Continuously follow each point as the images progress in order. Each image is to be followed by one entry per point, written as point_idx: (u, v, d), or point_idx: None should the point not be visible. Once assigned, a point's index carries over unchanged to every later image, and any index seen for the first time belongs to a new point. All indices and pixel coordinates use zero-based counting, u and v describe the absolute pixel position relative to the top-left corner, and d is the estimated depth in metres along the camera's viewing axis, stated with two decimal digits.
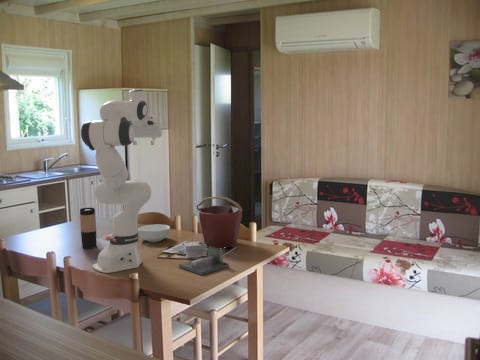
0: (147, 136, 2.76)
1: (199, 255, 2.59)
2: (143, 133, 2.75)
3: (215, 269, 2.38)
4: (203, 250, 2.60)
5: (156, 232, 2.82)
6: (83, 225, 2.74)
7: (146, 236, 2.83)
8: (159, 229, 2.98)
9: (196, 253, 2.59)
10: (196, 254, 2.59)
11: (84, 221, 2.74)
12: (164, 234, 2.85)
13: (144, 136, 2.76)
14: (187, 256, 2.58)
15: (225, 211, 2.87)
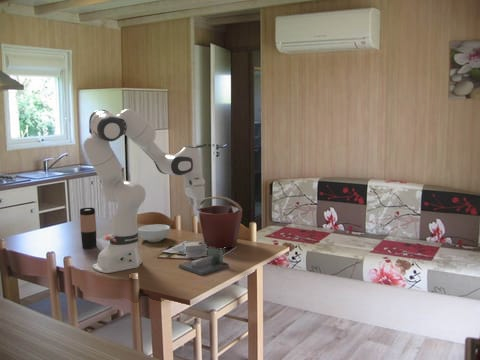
0: (192, 197, 2.60)
1: (199, 255, 2.59)
2: (191, 194, 2.61)
3: (215, 269, 2.38)
4: (203, 250, 2.60)
5: (156, 232, 2.82)
6: (83, 225, 2.74)
7: (146, 236, 2.83)
8: (159, 229, 2.98)
9: (196, 253, 2.59)
10: (196, 254, 2.59)
11: (84, 221, 2.74)
12: (164, 234, 2.85)
13: (191, 197, 2.61)
14: (187, 256, 2.58)
15: (225, 211, 2.87)
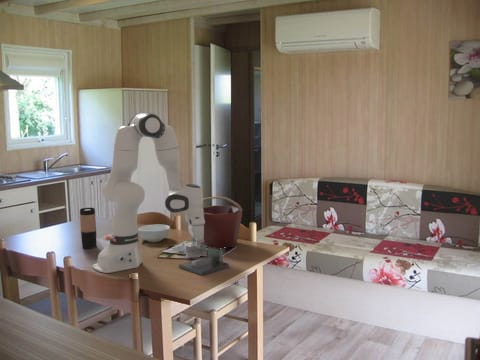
0: (193, 236, 2.58)
1: (199, 255, 2.60)
2: (192, 232, 2.60)
3: (215, 269, 2.38)
4: (203, 250, 2.60)
5: (156, 232, 2.82)
6: (83, 225, 2.74)
7: (146, 236, 2.83)
8: (159, 229, 2.98)
9: (196, 253, 2.59)
10: (196, 254, 2.59)
11: (84, 221, 2.74)
12: (164, 234, 2.85)
13: (192, 235, 2.60)
14: (187, 256, 2.58)
15: (225, 211, 2.87)
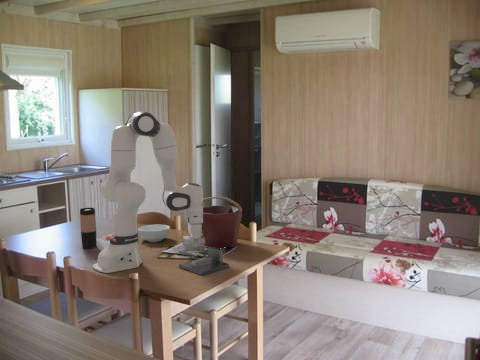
0: (191, 235, 2.56)
1: (197, 249, 2.58)
2: (190, 231, 2.58)
3: (215, 269, 2.38)
4: (202, 244, 2.58)
5: (156, 232, 2.82)
6: (83, 225, 2.74)
7: (146, 236, 2.83)
8: (159, 229, 2.98)
9: None
10: (194, 247, 2.57)
11: (84, 221, 2.74)
12: (164, 234, 2.85)
13: (190, 234, 2.58)
14: (185, 249, 2.57)
15: (225, 211, 2.87)
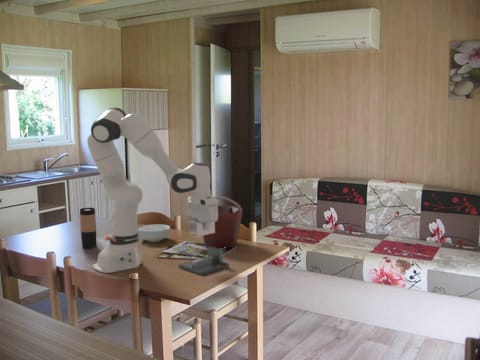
0: (202, 218, 2.40)
1: (208, 232, 2.44)
2: (199, 214, 2.41)
3: (215, 269, 2.38)
4: (212, 226, 2.45)
5: (156, 232, 2.82)
6: (83, 225, 2.74)
7: (146, 236, 2.83)
8: (159, 229, 2.98)
9: (206, 230, 2.42)
10: (206, 231, 2.43)
11: (84, 221, 2.74)
12: (164, 234, 2.85)
13: (200, 218, 2.42)
14: (198, 234, 2.40)
15: (225, 211, 2.87)
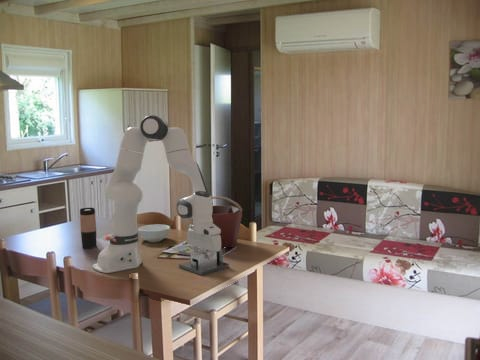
0: (204, 248, 2.39)
1: (211, 262, 2.43)
2: (202, 244, 2.40)
3: (215, 269, 2.38)
4: (214, 256, 2.44)
5: (156, 232, 2.82)
6: (83, 225, 2.74)
7: (146, 236, 2.83)
8: (159, 229, 2.98)
9: (208, 261, 2.41)
10: (208, 262, 2.41)
11: (84, 221, 2.74)
12: (164, 234, 2.85)
13: (202, 247, 2.40)
14: (201, 265, 2.39)
15: (225, 211, 2.87)
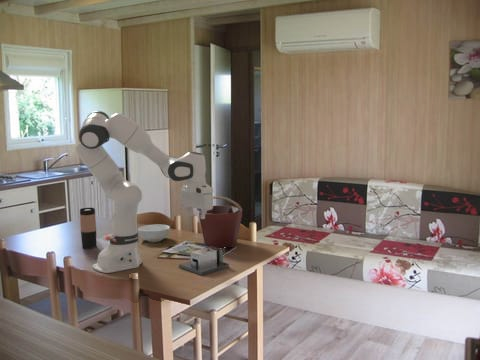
0: (197, 207, 2.43)
1: (211, 262, 2.43)
2: (194, 203, 2.44)
3: (215, 269, 2.38)
4: (214, 256, 2.44)
5: (156, 232, 2.82)
6: (83, 225, 2.74)
7: (146, 236, 2.83)
8: (159, 229, 2.98)
9: (208, 261, 2.41)
10: (208, 262, 2.41)
11: (84, 221, 2.74)
12: (164, 234, 2.85)
13: (194, 206, 2.44)
14: (201, 265, 2.39)
15: (225, 211, 2.87)
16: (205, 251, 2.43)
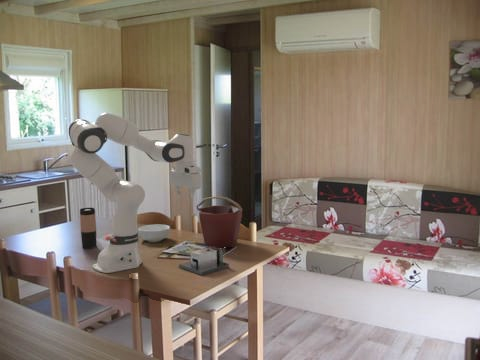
0: (186, 186, 2.55)
1: (211, 262, 2.43)
2: (183, 182, 2.56)
3: (215, 269, 2.38)
4: (214, 256, 2.44)
5: (156, 232, 2.82)
6: (83, 225, 2.74)
7: (146, 236, 2.83)
8: (159, 229, 2.98)
9: (208, 261, 2.41)
10: (208, 262, 2.41)
11: (84, 221, 2.74)
12: (164, 234, 2.85)
13: (184, 186, 2.56)
14: (201, 265, 2.39)
15: (225, 211, 2.87)
16: (205, 251, 2.43)
